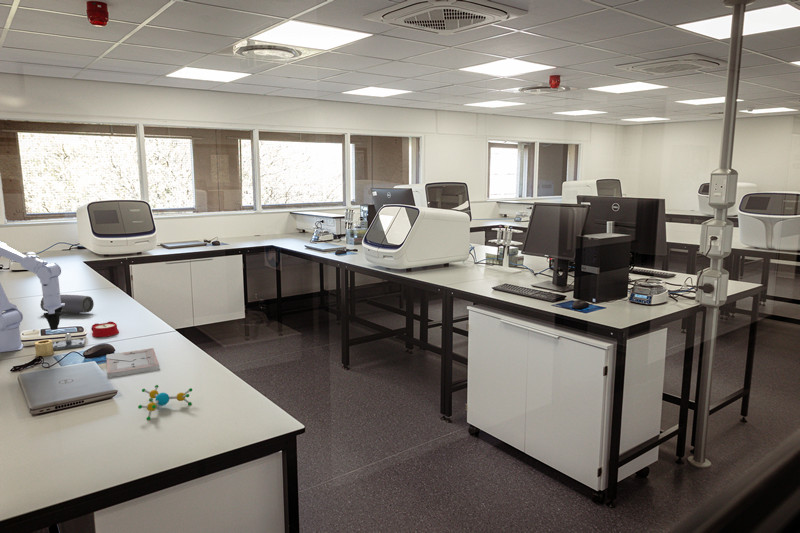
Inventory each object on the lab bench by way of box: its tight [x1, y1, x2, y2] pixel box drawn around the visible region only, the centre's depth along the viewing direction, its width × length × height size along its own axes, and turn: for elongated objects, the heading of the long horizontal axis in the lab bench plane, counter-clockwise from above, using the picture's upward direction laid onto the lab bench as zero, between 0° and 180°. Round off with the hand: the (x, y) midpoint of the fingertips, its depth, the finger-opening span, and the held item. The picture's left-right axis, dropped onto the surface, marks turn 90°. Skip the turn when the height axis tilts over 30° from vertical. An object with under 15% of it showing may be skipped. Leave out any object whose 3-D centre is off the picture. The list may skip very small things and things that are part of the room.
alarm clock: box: [90, 321, 120, 338], centre depth 230 cm, size 10×6×15 cm
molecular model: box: [137, 384, 193, 421], centre depth 156 cm, size 16×5×15 cm
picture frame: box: [105, 347, 160, 379], centre depth 192 cm, size 16×2×22 cm
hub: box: [34, 339, 55, 357], centre depth 202 cm, size 6×6×5 cm
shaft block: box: [53, 332, 86, 351], centre depth 212 cm, size 11×8×5 cm
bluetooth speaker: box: [40, 294, 95, 316], centre depth 261 cm, size 23×9×10 cm, turn 84°
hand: (55, 327), depth 206 cm, fingers open, 7 cm apart
